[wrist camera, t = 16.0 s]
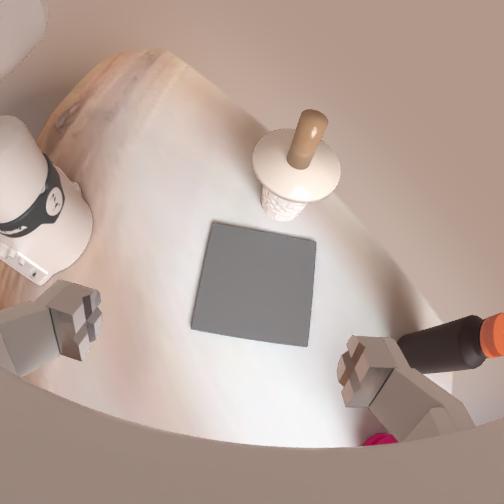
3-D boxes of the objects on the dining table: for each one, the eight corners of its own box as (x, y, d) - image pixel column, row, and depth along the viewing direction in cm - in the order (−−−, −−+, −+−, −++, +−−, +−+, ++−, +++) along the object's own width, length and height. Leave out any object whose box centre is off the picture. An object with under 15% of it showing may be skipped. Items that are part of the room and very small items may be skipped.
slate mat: (191, 329, 39) (191, 328, 38) (213, 224, 45) (213, 222, 44) (306, 346, 40) (307, 346, 39) (315, 243, 46) (316, 241, 45)
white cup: (256, 183, 49) (265, 142, 40) (301, 184, 50) (318, 147, 41) (259, 224, 46) (270, 188, 37) (307, 225, 47) (328, 191, 38)
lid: (245, 193, 36) (255, 144, 28) (257, 127, 41) (267, 79, 32) (338, 211, 37) (368, 170, 28) (336, 144, 41) (357, 102, 33)
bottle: (424, 371, 40) (518, 358, 21) (393, 377, 39) (490, 369, 21) (423, 332, 42) (514, 303, 24) (391, 335, 42) (485, 305, 23)
